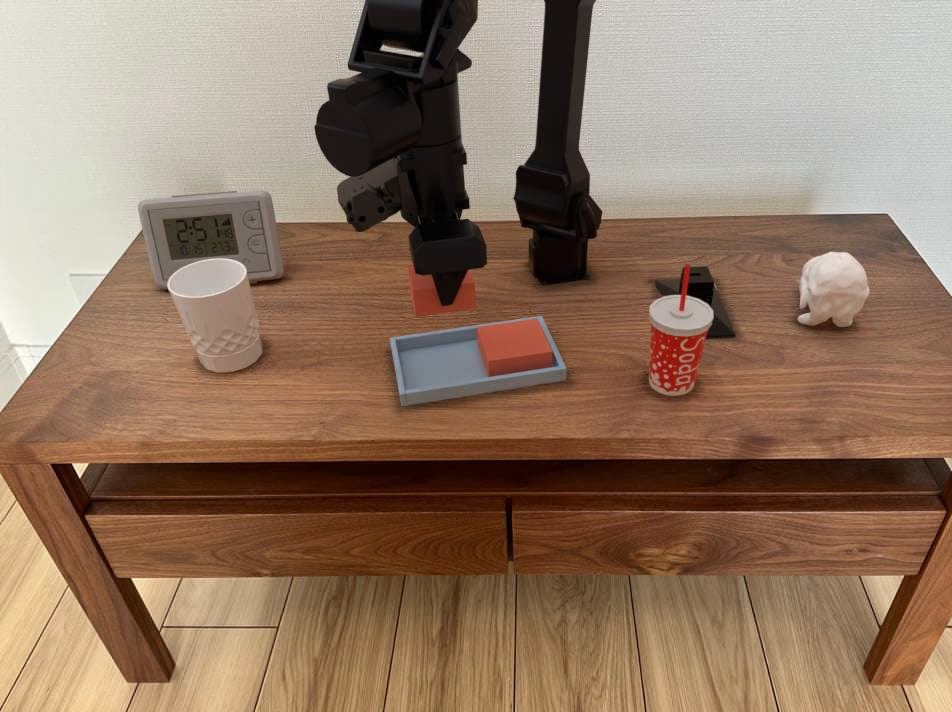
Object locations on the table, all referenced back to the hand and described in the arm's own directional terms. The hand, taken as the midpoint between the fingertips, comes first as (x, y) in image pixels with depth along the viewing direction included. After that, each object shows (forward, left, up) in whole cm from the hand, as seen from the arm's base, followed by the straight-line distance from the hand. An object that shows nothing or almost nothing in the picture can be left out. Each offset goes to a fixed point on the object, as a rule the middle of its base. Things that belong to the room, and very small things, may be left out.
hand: (442, 290), depth 75 cm
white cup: (+23, -9, -10) cm, 27 cm away
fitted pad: (-7, 0, -9) cm, 12 cm away
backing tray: (-3, 0, -10) cm, 10 cm away
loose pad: (0, 0, -1) cm, 1 cm away
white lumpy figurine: (-44, -1, -10) cm, 45 cm away
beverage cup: (-22, +8, -10) cm, 25 cm away
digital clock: (+25, -27, -10) cm, 38 cm away
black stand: (-30, -5, -10) cm, 32 cm away
